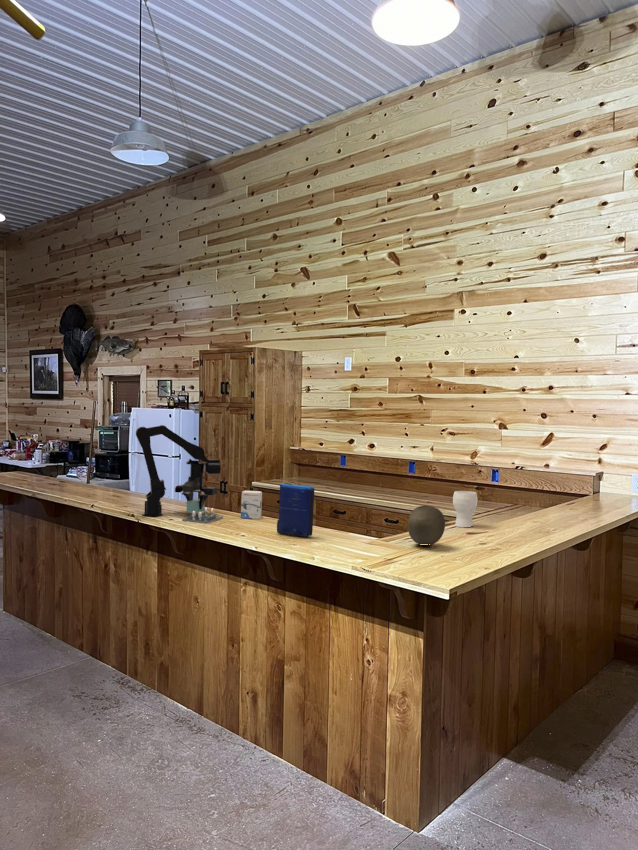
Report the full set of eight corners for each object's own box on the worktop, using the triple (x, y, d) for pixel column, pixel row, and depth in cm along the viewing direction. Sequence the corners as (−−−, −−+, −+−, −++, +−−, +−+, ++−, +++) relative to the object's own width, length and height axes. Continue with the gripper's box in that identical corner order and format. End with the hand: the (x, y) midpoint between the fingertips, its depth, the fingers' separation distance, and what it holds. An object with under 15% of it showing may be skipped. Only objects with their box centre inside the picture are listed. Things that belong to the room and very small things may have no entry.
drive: (186, 512, 284) (186, 500, 284) (195, 509, 292) (195, 498, 292) (195, 513, 283) (195, 501, 283) (204, 510, 291) (204, 499, 290)
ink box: (240, 518, 282) (241, 491, 282) (242, 516, 287) (243, 490, 287) (259, 519, 282) (260, 492, 281) (261, 517, 287) (262, 491, 286)
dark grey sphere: (399, 543, 240) (400, 503, 240) (432, 541, 245) (433, 502, 245) (418, 551, 227) (419, 509, 227) (452, 549, 232) (454, 508, 232)
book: (274, 534, 249) (276, 483, 249) (282, 532, 254) (283, 481, 253) (307, 539, 242) (309, 486, 242) (313, 536, 247) (315, 485, 247)
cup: (446, 525, 282) (448, 491, 282) (461, 523, 289) (462, 490, 289) (467, 529, 274) (468, 494, 274) (481, 527, 281) (482, 492, 281)
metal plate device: (182, 520, 271) (182, 510, 271) (198, 516, 284) (198, 506, 284) (207, 523, 267) (207, 513, 267) (222, 518, 280) (223, 508, 280)
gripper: (168, 474, 282) (167, 509, 283) (206, 477, 277) (205, 513, 277) (181, 472, 293) (180, 506, 293) (218, 475, 287) (217, 509, 288)
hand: (195, 509), depth 288 cm, fingers closed on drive, 4 cm apart
